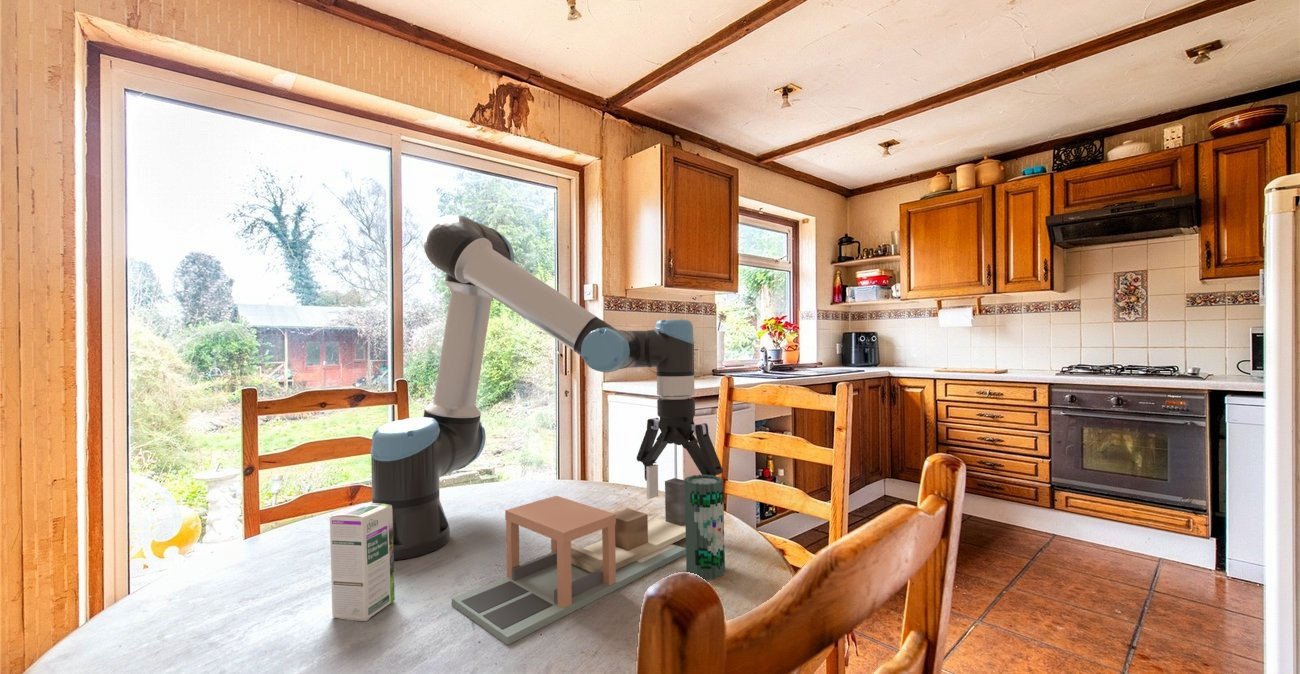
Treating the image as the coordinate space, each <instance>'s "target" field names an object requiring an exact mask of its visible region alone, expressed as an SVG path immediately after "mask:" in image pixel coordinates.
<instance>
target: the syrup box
mask: <svg viewBox="0 0 1300 674" xmlns="http://www.w3.org/2000/svg"><path fill="white" fill-rule="evenodd" d="M329 531H330V532H329V537H330V538H329V539H330V572H331V575H330V576H331V578H330V579H331V580H330V581H331V610H332V611H331V614H332V617H333V618H335V619H340V620H347V621H358V622H359V621H360V622H367V621H369V620H370V619H371V618H372V617H373V616H375V615H376V614H377V613H379V612H380V611H382V610H383V609H385V608H386V607H387V606H389V605H390V604H392V603H394V601H395V599H396V597H395V596H396V595H395V566H394V565H395V564H394V563H395V560H394V555H393V519H392V505H388V504H380V503H372V502H368V503H359V504H357V505H355V506H353V507H351V508H349V509H346V510H343V511H342V512H339V513H337V514H334V515H331V516H330V517H329Z"/></svg>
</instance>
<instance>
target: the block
mask: <svg viewBox="0 0 1300 674" xmlns="http://www.w3.org/2000/svg"><path fill="white" fill-rule="evenodd" d="M613 513H614V514H616V524H615V546H616V547H619V548H621V549H624V550H627V551H630V550H632V549H634V548H636V547H639V546H641V545H643V544H645V543H648V522H649V520H648V515H649V514H648V513H645V512H641V511H639V510H634V509H631V508H625V509H622V510H619V511H617V512H613Z"/></svg>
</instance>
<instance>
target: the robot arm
mask: <svg viewBox="0 0 1300 674" xmlns="http://www.w3.org/2000/svg"><path fill="white" fill-rule="evenodd" d="M423 248H424V253H425V254H426V255H425V256H426V258H427V259H428V260H429V262H430V263H431V264H432V265H433V266H434V267H435V268H437V269H438V270H440V271H442V272H444V273H445V278H444V279H445V280H444V285H446V286H447V288H448V289H449V291H450V296H449V301H448V308H447V315H446V320H445V325H444V327H445V328H444V333H443V340H442V347H441V350H440V351H441V352H440V358H439V364H438V371H437V378H436V382H435V383H436V385H435V390H434V396H433V400H432V401H431V402H430V403H429V404H428V405H426V406H424V411H423V416H420V417H418V416H417V417H409V418H404V419H398V420H394V421H391V422H387V423H385V424H383V425H381V426H379V427H377V428H376V429H375V431H373V434H372V440H371V448H370V456H371V458H370V459H371V496H372V497H371V498H372V499H371V500H372V502H371V503H380V504H388V505H392V519H393V555H394V561H397V560H399V561H400V560H404V559H405V560H407V559H410V558H415V557H419V556H423V555H425V554H429V553H433V552H434V551H436V550H439V549H441V548H442V547H443V546H445V545H446V544H447V543H448V542H449V540H450V538H451V536H450V524H449V522H448V519H447V516H446V513H445V510H444V508H443V505H442V502H441V500H440V499H441V498H440V478H441V477H443V476H446V475H448V474H450V473H452V472H455V471H459V470H462V469H464V468H466V467H467V466H468V465H470V464H471V463H473V462H475V460H477V459H478V458H479V457H480V455H481V454H482V452H483V450H484V448H485V445H486V437H487V436H486V430H485V427H484V426H483V425H482V421H481V417H482V413H481V410H480V409H479V408H478V407H477V404H476V401H477V395H478V389H479V383H480V377H481V372H482V371H481V369H482V364H483V357H484V352H485V345H486V339H487V334H488V333H487V332H488V326H489V319H490V313H491V306H492V301H493V299H495V300H496V301H498V302H499V303H501V304H503V305H504V306H505V307H506V308H509V309H510V310H511V311H512V312H515V313H516V314H517V315H519V316H520V317H521V318H524V319H525V320H526V321H528V322H529V323H531V324H533V325H534V326H536V327H537V328H539V329H541V330H542V331H543V332H544V333H546V334H548V335H549V336H550V337H552V338H553V339H555V340H557V341H558V342H560V343H561V344H563V345H564V346H565V347H567V348H569V349H571V350H572V351H573V352H574V353H576V354H578V356H581V357H582V359H583V361H584V363H585V364H586V365H587V366H588V367H589V368H590V369H591V370H594V371H597V372H601V373H614V372H617V371H618V370H623V369H629V368H630V369H631V368H632V369H633V368H656V395H657V396H658V397H659V398H658V399H657V401H656V405H657V406H656V408H657V410H656V412H657V416H658V417H654V418H649V419H647V421H646V430H645V434H644V436H643V439H642V441H641V444H640V447H639V450H638V451H637V455H636V460H637V462H641V463H642V464H643V466H644V467H643V468H644V481H646V499H648V500H651V499H653V498H657V497H659V465H658V464H657V463H658V462H657V460H658V458H659V457H660V456H661V454H662V453H663V451H664V450H665V448H666V447H667V446H668V444H669V445H671V444H672V445H673V444H675V445H677V446H682V448H683V449H685V450H686V451H687V453H688V455H689V456H690V458H691V459H692V461H693V462H694V464H695V466H696V468H697V469H698V471H699V472H700V475H713V476H718V475H722V474H723V472H724V469H723V467H722V465H721V462H720V460H719V457H718V454H717V452H716V449H715V446H714V445H713V442H712V439H711V437H710V433H709V425H708V424H707V423H706V422H704V423H700V424H699V423H698V424H695V420H694V417H695V416H696V399H695V398H694V397H692V396H694V395H695V393H696V392H695V390H696V389H695V341H694V340H695V339H694V327H693V323H692V322H691V321H690V320H688V319H682V318H681V319H679V318H678V319H673V318H672V319H660V320H659V319H658V320H657V321H656V323H655V328H654V329H650V330H649V329H648V330H621V329H617V328H615V327H613V326H612V325H611V324H609V323H608V322H606V321H604V320H603V319H601V318H599V317H598V316H597V315H595V314H593V312H591V311H588V309H586V308H584V307H583V306H582V305H580V304H578V303H577V302H574V301H573V300H572V299H570V298H569V297H567V295H566V296H565V295H564V294H562V293H561V292H560V291H558V290H556V289H555V288H553V287H552V286H550V285H549V284H546V283H545V282H544V281H542V280H541V279H539V278H538V277H536V276H535V275H533V274H531V273H530V272H529V271H527V270H525V269H524V268H522V267H520V266H519V265H518V264H516V263H515V253H514V249H513V247H512V244H511V243H510V241H509V240H508V239H507V238H506V236H505V235H503V234H501V233H500V232H499V231H497V230H496V229H494V228H492V227H489V226H486V225H485V224H481V223H478V222H476V221H474V220H472V219H470V218H468V217H465V216H462V215H456V214H450V215H444V216H442V217H441V216H440V217H439V218H437V219H435V220H434V221H433V222H432V223H430V225H429V226H428V227H427V229H426V231H425V233H424V238H423ZM659 430H660V434H659V435H658V433H659ZM655 440H656V442H655Z"/></svg>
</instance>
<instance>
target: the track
mask: <svg viewBox="0 0 1300 674" xmlns="http://www.w3.org/2000/svg"><path fill="white" fill-rule="evenodd" d="M614 513H615V512H611V511H607V510H604V509H600V508H597V507H593V506H591V505H588V504H585V503H583V502H582V503H581V502H578V501H575V500H572V499H568V498H565V497H562V496H559V495H553V496H551V497H550V496H549V497H547V498H543V499H540V500H536V501H533V502H530V503H526V504H522V505H519V506H515V507H512V508H509V509H508V508H507V509H505V513H504V516H505V517H504V518H505V530H506V532H505V533H506V534H505V535H506V536H505V537H506V538H505V540H506V542H505V543H506V544H505V545H506V576H504V577H501V578H499V579H496V580H494V581H492V582H489V583H486V584H484V585H481V586H479V587H477V588H474V589H471V590H469V591H466V592H463V593H461V594H458V595H456V596H454V597H451V606H452V607H454V609H456V610H458V611H459V612H461V613H462V614H463V615H465V616H466V617H467V618H468V619H470V620H471V621H473V622H474V623H476V624H477V625H479V626H480V627H481V628H483V629H484V630H486V631H487V632H488V633H489V634H491V635H493V636H494V637H495V638H497V639H498V640H499V641H500V642H502V643H504V645H506V646H509V645H511V644H513V643H514V642H517V641H518V640H520V639H522V638H525V637H527V636H528V635H531V634H532V633H534V632H537V631H538V630H540V629H542V628H544V627H546V626H548V625H550V624H552V623H554V622H556V621H558V620H560V619H561V618H562V619H563V618H564V617H565V616H567V615H570V614H571V613H574V612H575V611H577V610H579V609H581V608H583V607H586V606H587V605H589V604H591V603H593V602H595V601H597V600H599V599H600V598H602V597H605V596H607V595H609V594H611V593H613V592H615V591H617V590H619V589H620V588H623V587H625V586H627V585H628V584H631V583H632V582H634V581H637V580H638V579H641V578H642V577H644V576H646V575H648V574H650V573H651V572H650V571H652V570H654V571H656V570H658V569H660V568H662V567H664V566H665V565H668V564H670V563H672V562H673V561H675V560H677V559H679V558H681V557H683V556H686V547H684V546H683V547H682V546H679V545H676V544H674V543H672V544H670V545H668V546H666V547H664V548H662V549H659V550H657V551H655V552H653V553H651V554H649V555H647V556H645V557H642V558H640V559H638V560H636V561H634V562H632V563H630V564H628V565H625V566H623V567H621V568H619V569H617V570H616V556H615V524H616V514H614ZM519 527H521V528H524V529H527V530H530V531H531V532H534V533H537V534H540V535H542V536H544V537H547V538H549V539H550V549H551V550H550V553H547V554H544V555H542V556H540V557H537V558H533V559H531V560H529V561H526V562H524V563H521V564H520V528H519ZM598 531H602V532H601V533H602V534H601V535H602V536H601V538H600V539H598V540H595V541H592V542H590V543H587V544H585V545H582V546H580V547H581V548H584V547H587V546H589V545H592V544H594V543H597V542H599V541H602V549H603V568H602V569H600V570H597V571H595V572H593V573H591V572H589V571H587V570H585V569H582V568H580V567H578V566H576V565H573V564H571V544H572V541H574V540H577V539H580V538H582V537H584V536H588V535H590V534H593V533H595V532H598ZM659 567H660V568H659ZM657 568H658V569H657ZM655 569H656V570H655ZM649 572H650V573H649ZM652 572H653V571H652ZM647 573H648V574H647ZM645 574H646V575H645ZM643 575H644V576H643Z"/></svg>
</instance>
